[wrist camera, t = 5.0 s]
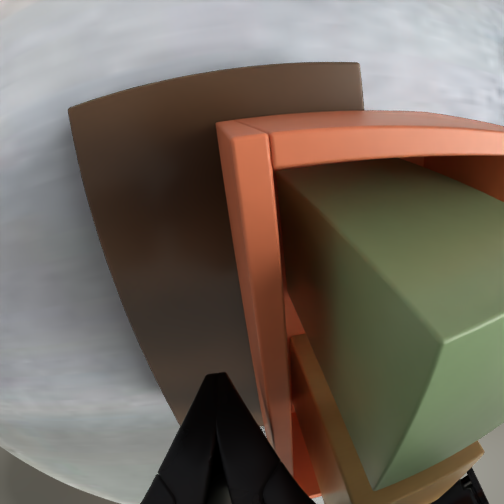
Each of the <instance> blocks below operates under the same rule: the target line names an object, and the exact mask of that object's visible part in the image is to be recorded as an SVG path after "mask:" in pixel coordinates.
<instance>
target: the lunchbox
mask: <svg viewBox="0 0 504 504" xmlns="http://www.w3.org/2000/svg"><path fill="white" fill-rule="evenodd" d="M216 131H217V138H218V145H219V152H220V159H221V166H222V173H223V180H224V187H225V193H226V200H227V207H228V213H229V220H230V226H231V233H232V239H233V246H234V252H235V259H236V265H237V271H238V277H239V284H240V290H241V296H242V302H243V308H244V314H245V320H246V326H247V332H248V338H249V344H250V350H251V356H252V362H253V368H254V373H255V379H256V385H257V391H258V396H259V402H260V408H261V413H262V418H263V423H264V427H265V432H266V436H267V440H268V441H269V443H270V444H271V446H272V447H273V449H274V451H275V452H276V454H277V455H278V457H279V458H280V460H281V462H283V464H284V465H285V467H286V468H287V470H288V471H289V473H290V474H291V475H292V477H293V478H294V479H295V481H296V482H297V483H298V485H299V486H300V487H301V488H302V489H303V490H304V492H305V493H306V494H307V495H308V496H309V497H310V498H311V499H312V498H316V497H319V496H322V494H321V491H320V488H319V485H318V482H317V478H316V475H315V472H314V469H313V466H312V463H311V459H310V456H309V453H308V450H307V447H306V444H305V440H304V437H303V434H302V431H301V428H300V425H299V421H298V418H297V415H296V412H295V409H294V405H293V402H292V381H291V350H290V337H291V336H295V335H300V334H305V330H304V328H303V326H302V324H301V321H300V319H299V317H298V315H297V312H296V310H295V308H294V305H293V303H292V301H291V299H290V296H289V294H288V292H287V281H286V270H285V259H284V248H283V238H282V228H281V218H280V208H279V199H278V190H277V180H276V171H279V170H286V169H294V168H301V167H309V166H317V165H326V164H334V163H344V162H354V161H364V160H375V159H387V158H400V159H403V160H406V161H408V162H411V163H414V164H417V165H419V166H422V167H424V168H427V169H430V170H432V171H435V172H437V173H440V174H442V175H445V176H447V177H449V178H452V179H454V180H457V181H459V182H461V183H464V184H466V185H468V186H470V187H473V188H475V189H477V190H479V191H481V192H483V193H486V194H488V195H490V196H492V197H494V198H496V199H498V200H500V201H502V202H504V126H500V125H496V124H491V123H487V122H482V121H477V120H472V119H466V118H461V117H455V116H449V115H443V114H436V113H429V112H415V111H375V110H367V111H327V112H308V113H294V114H282V115H271V116H261V117H252V118H244V119H236V120H229V121H222V122H217V123H216Z"/></svg>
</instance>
